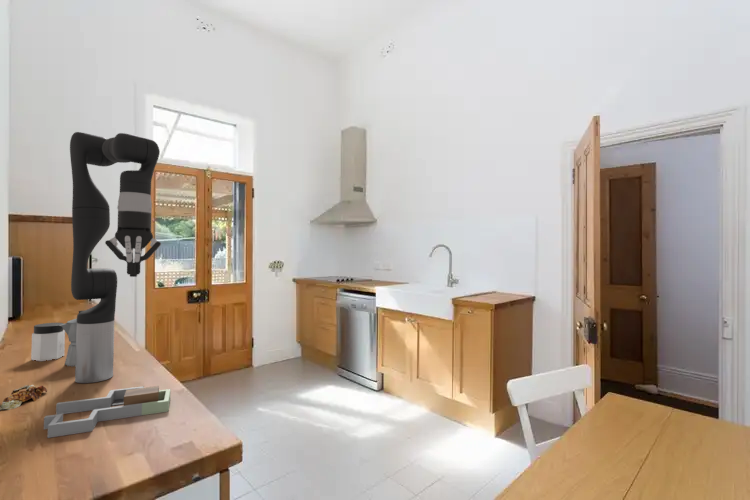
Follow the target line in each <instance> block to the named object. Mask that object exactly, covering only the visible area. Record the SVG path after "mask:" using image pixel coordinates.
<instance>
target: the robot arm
mask: <svg viewBox="0 0 750 500" xmlns="http://www.w3.org/2000/svg"><path fill="white" fill-rule="evenodd" d="M160 154H161V153H160V148H159V144H158V143H157V142H156V141H155V140H153V139H151V138H147V137H143V136H138V135H134V134H130V133H125V132H124V133H123V132H119V133H117V134H116V135H115V136H114V137H109V138H106V137H104V136H98V135H94V134H90V133H86V132H79V131H75V132H74V133H73V134H72V135H71V137H70V141H69V156H70V166H71V167H70V168H71V177H72V200H71V201H72V206H71V209H72V210H71V221H72V222H71V223H72V238H73V239H72V242H73V243H72V244H73V245H72V249H73V251H72V262H71V280H70V281H71V282H70V283H71V284H70V288H71V289H70V290H71V295H72V297H73V298H74V299H75V300H78V301H82V300H83V301H84V300H99V299H100V301H99V302H98V303H97V304H95V305H94V306H92V307H90V308H88V309H85V310H81V311H82V312H80V313H79V312H78V314H77V316H76V319H77V329H76V366H74V367H75V372H74V374H75V376H74V382H75V383H78V384H91V383H97V382H102V381H106V380H109V379H111V378H112V377H114V354H115V353H114V352H115V316H116V315H115V314H116V305H117V304H116V303H117V302H116V301H117V292H118V291H117V290H118V276H117V272H116V270H115V269H113V268H108V267H107V268H101V267H99V268H88V261H89V258H90V257H91V254H92V252H93V250H94V249H95V247H96V246H97V245H98V244H99V242H101V240H102V239H103V238H104V236H105V235H106V233H107V232H108V230H109V229H110V225H111V222H110V221H111V217H110V216H111V213H110V204H109V202H108V200H107V199H106V197H105V196H104V195H103V193H102V191H100V189H99V188H98V187H97V185H96V184H95V182H94V181H93V178H92V177H91V174H90V171H89V169H88V165H91V166H96V167H109V166H113V165H115V164H117V163H121V164H122V163H124V164H126V163H128V164H129V163H134V164H135V163H136V164H140V168H139V169H137V170H135V169H133V170H132V169H130V170H124V171H122V172H120V174H119V175H120V176H119V195H118V196H119V197H118V201H117V229H116V230H117V231H116V232H115V234H114V236H113V237H112V238H110V239H109V240H105V242H104V243H105V244H104V245H106V246H107V247H108V249H110V251H111V252H112V253H113V254H114V255H115V256H116V257H117V258H118V260H120V261H124V262H126V273H127V275H129V277H130V278H133V277H135V278H137V277H138V275H140V273H141V263H142V262H144V261H146V260H149V258H150V257H152V255H154V253H155V252H156V251H157V250H158V249H159V248H160V247H161V246H162V243H161V241H158V240H156V238H154V235H153V233H152V208H153V206H152V204H153V203H152V178H153V175H154V171H155V168H156V166H157V163H158V160H159V158H160ZM118 242H119V244H120V245H121V247H123V249H125V254H124V253H123V252H122V250H120V249H119V248H118V245H119V244H118ZM149 243H150V248H149V249H148V250H147V251H146V252H145V253H144V254H143V255H142V253H143V249H145V248H146V247H147V245H149Z"/></svg>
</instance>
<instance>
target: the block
mask: <svg viewBox="0 0 750 500" xmlns="http://www.w3.org/2000/svg"><path fill="white" fill-rule="evenodd" d="M159 390H160V385H155V386H147V387H144V388H138V389H130V390H126V393H125V395H124V405H132V404H140V403H147V402H155V401H159ZM124 405H123V406H124Z"/></svg>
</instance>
